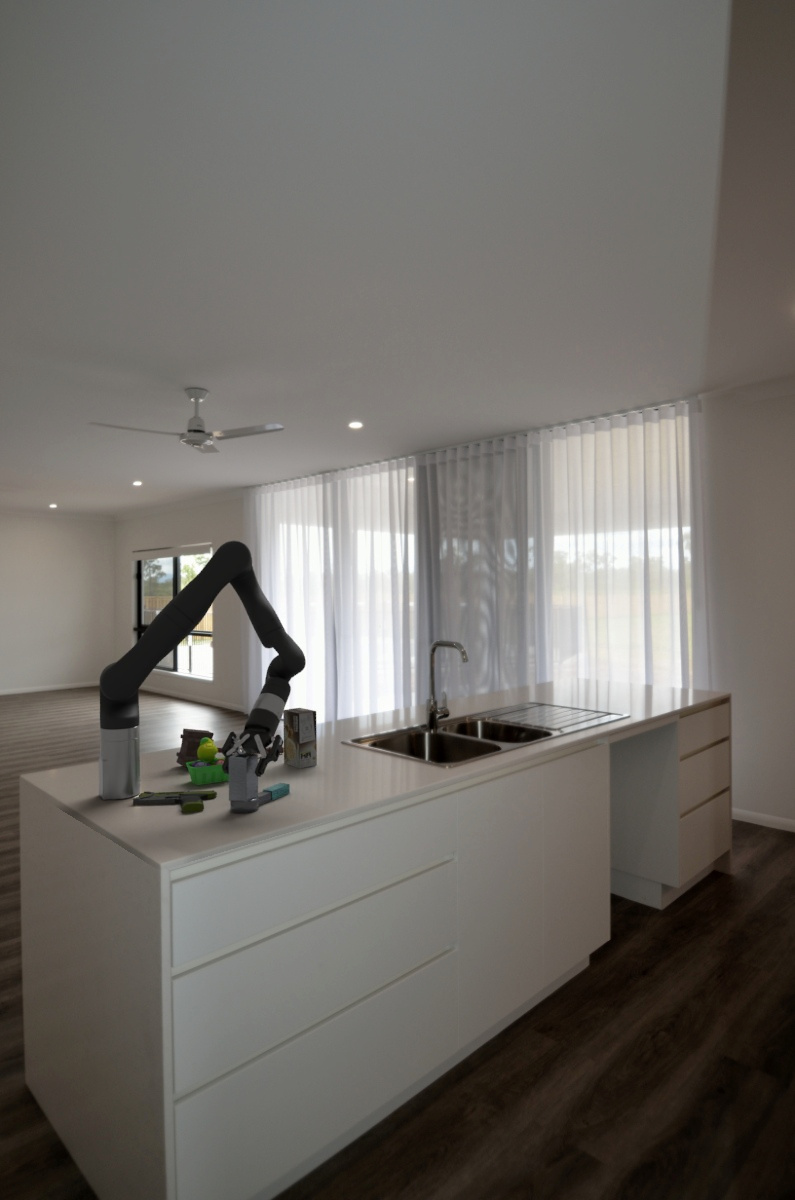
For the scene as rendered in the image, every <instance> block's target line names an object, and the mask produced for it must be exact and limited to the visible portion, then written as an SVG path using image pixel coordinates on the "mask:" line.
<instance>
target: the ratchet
mask: <svg viewBox="0 0 795 1200" xmlns="http://www.w3.org/2000/svg"><path fill="white" fill-rule="evenodd" d="M290 789H291V788H290V783H285V782H278V783H276V784H274V785H272V786H269V787H268V786H267V787H265V788H264V789H262V791H260V792H259V791H258V797H257V798H255V799H253V800H251V801H249V802H238V801H229V802H230V803H229V805H230V808H229V809H230V810H229V811H230V813H234V814H240V815H241V814H242V815H243V814H244V815H245V814H251V813H254V812H257V811H258V810H259V806H262V805H264V804H266V803H267V804H268V803H269V802H271V801H274V800H277V799H280V798H282V797H284V796H287V795H289V794H290V793H291V792H290Z"/></svg>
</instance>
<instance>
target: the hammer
mask: <svg viewBox="0 0 795 1200" xmlns="http://www.w3.org/2000/svg"><path fill="white" fill-rule="evenodd" d="M214 734H215V733H214V732H211V731H209V730H202V729H193V728H183V729H182V734H181V733H180V736H179V737H180V739H181V745H180V750H179V751H177V752H176V757H177V759H176V763H177V764H179V765H180V766H182V767H187V765H186V763H187V762H193V761H197V760H200V759H199V757H198V755H197V751H198V748H199V746H200V741H201V739H202V738H206V737H207V738H209V739H211V740H212V741H213V743H214V742H215V741H214V739H213V737H214ZM271 748H272V746H268V747H266V749H267V752H268V754H270V751H271ZM217 749H218V752H217V753H219V754H222V752H221V749H222V747H217ZM239 749H240V750H241V749H243V748H242V747H241V748H239ZM236 752H237V751H236ZM236 752H235V753H236ZM248 754H255V753H248ZM259 754H260V755H261V753H258V755H259ZM280 754H284V746H282V748H281V751H280Z"/></svg>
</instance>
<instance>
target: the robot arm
mask: <svg viewBox="0 0 795 1200" xmlns="http://www.w3.org/2000/svg"><path fill="white" fill-rule="evenodd" d="M252 558H253V557H252V553H251V550H250V548H249V546H248V545H247V544H246V543H245V542H243V541H240V540H236V539H235V540H234V539H233V540H229V541H226V542H224V543H222V544H221V545H220V546H219V547H218V549H216V551H215V553H214V554H213V555H212V556H211V557H210V559H209V560H208V562H207V563H206V564H205V566H204V567H203V568H202V569H201V570H200V572H199V573H198V574H197V575H196V576H195V577H193V579H192V580H191V581H189V582H188V583H187V584H186V585H185V586H184V587H183V588H182V589H181V590H180V591H179V592H178V593H177V594H176V595H175V596H174V597H173V598H172V599H171V600H170V601H168V603H167V604H165V606H164V607H163V608H162V609H161V610H160V611H159V612H158V614H156V616H155V617H154V618H153V619H152V621H151V622H150V624H149V625H148V626H147V627H146V629H145V631H144V632H143V633H142V635H141V636H140V637H139V639H138V641H137V642H136V643H135V644H134V645H133V646H132V648H130V650H128V651H127V652H126V653H125V654H124V655H123V656H121V657H120V658H119V659H118V660H117V661H116V662H112V663H110V664H108V665H107V666H106V667H104V669H103V670H102V671H101V673H100V677H99V727H100V728H99V747H100V748H99V749H100V751H99V752H100V753H99V754H100V755H99V756H98V795H99V797H100V798H101V799H102V800H103V801H105V800H121V799H128V798H131V797H135V796H137V795H138V796H139V795H140V794H141V793H140V792H141V777H140V776H141V764H140V763H141V762H140V761H141V760H140V759H141V758H140V757H141V756H140V753H141V751H140V749H141V748H140V746H141V745H140V743H141V741H140V704H139V703H140V702H139V701H140V699H139V698H140V697H139V696H140V695H139V694H140V692H139V689H140V687H141V686H142V685H143V683H144V682H145V680H146V679H147V678H148V677H149V676H150V674H151V673H152V672H153V670H154V669H155V668H156V667H157V665H159V664H160V663H161V661H162V660H164V658H166V657H167V656H168V655H169V654H170V653H171V652H172V651H174V650H175V649H176V648H177V647H178V646H179V645H180V644H181V643H182V642H183V641H184V640H185V639H186V638H187V637H188V636H189V635H190V634H191V633H192V632H193V631H194V630H195V629H196V627H197V626H198V625H200V623H201V622H202V621H203V619H204V618H205V616H206V614H207V613H208V612H209V610H210V608H211V607H212V605H213V603H214V601H216V598H217V596H218V595H219V594H220V593H221V591H222V590H223V589H224V588H225V587H226V586H228V584H230V586H231V587H232V589H233V590H234V591H235V593H236V594H237V596H238V597H239V600H240V601H241V603H242V605H243V607H244V609H245V611H246V615H247V616H248V619H249V622H250V623H251V625H252V627H253V629H254V631H255V633H256V635H257V637H258V639H259V641H260V643H261V645H262V646H263V647H264V648H265V649H272V648H273V649H274V650H275V652H276V653H277V655H276V656H274V657H273V659H272V660H271V661H270V663H269V665H268V667H267V670H266V675H265V680H264V684H263V686H262V689H261V691H260V693H259V695H258V697H257V698H256V700H255V702H254V704H253V705H252V708H251V711H250V713H249V714H248V715H249V716H248V718H247V720H246V721H245V724H244V728H243V731H242V732H241V734H239V733H235V732H234V731H230V733H229V734H228V736H227V738H226V740H225V742H224V744H223V745H222V747H221V748H222V749H221V752H222V753H221V754H222V756H223V757H225V760H224V763H223V765H222V770H223V772H224V773H225V774H229V757H231V756H233V755H236V754H239V753H255V754H258V753H261V754H260V757H261V758H259V760H258V764H257V767H256V769H255V774H256V776H257V777H258V778H260V777H262V776H263V775H265V771H266V769H267V767H268V764H270V762H274V763H276V762H278V760H279V758H280V754H281V753H280V751H281V748H282V747H283V746H284V739H283V737H282V735H280V734H276V732H277V730H278V727H279V725H280V723H281V720H282V719H283V718H282V717H283V712H284V710H285V707H286V706H287V705H286V704H287V702H288V700H289V697H290V695H291V691H292V688H291V684H290V681H291V679H292V678H294V677H295V676H297V675H298V674H299V673H301V672H302V671H304V669H305V667H306V662H307V660H306V656H305V653H304V651H303V650H302V648H301V647H300V646H299V645H298V644H297V643H296V641H294V639H293V638H292V637H291V636H290V635H289V634H288V633H287V632H286V629H285V628H284V626H283V623H282V622H281V620H280V618H279V616H278V613H276V611H275V609H274V607H273V606H272V604H271V602H270V601H269V600H268V598H267V597H266V595H265V593H264V592H263V590H262V588H261V586H260V584H259V582H258V579H257V577H256V573H255V570H254V566H253V559H252ZM271 744H272V745H271ZM270 746H271V747H272V748H271V751H270V754H268V752H267V749H266V748H269V747H270ZM240 747H241V748H243V749H241V750H240V749H239V748H240ZM236 751H237V752H236ZM235 752H236V753H235ZM258 755H259V754H258Z"/></svg>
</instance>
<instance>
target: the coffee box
mask: <svg viewBox="0 0 795 1200" xmlns="http://www.w3.org/2000/svg"><path fill="white" fill-rule="evenodd" d="M282 717H283V718H282V719H283V748H284V752H283V764H285V765H288V766H291V767H295V768H298V769H304V768H309V767H314V766H318V755H317V754H318V750H317V749H318V747H317V745H318V744H317V743H318V742H317V738H318V737H317V710H313V709H307V708H303V707H296V708H289V709H284V712H283V715H282Z"/></svg>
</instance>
